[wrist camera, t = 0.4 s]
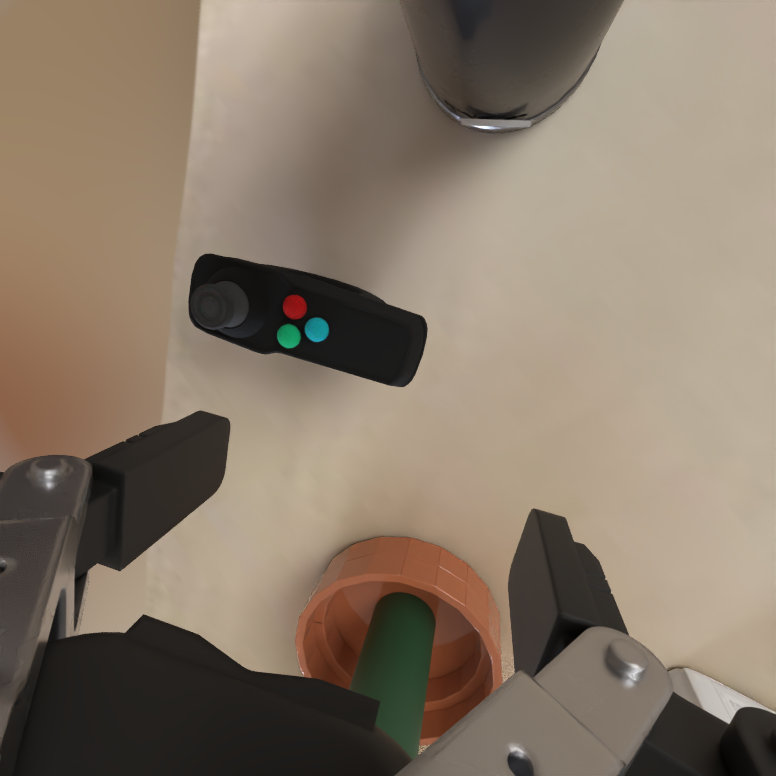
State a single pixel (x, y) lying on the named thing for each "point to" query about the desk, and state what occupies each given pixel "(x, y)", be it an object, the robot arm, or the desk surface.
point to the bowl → (435, 587)
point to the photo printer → (710, 694)
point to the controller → (306, 318)
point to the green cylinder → (397, 666)
